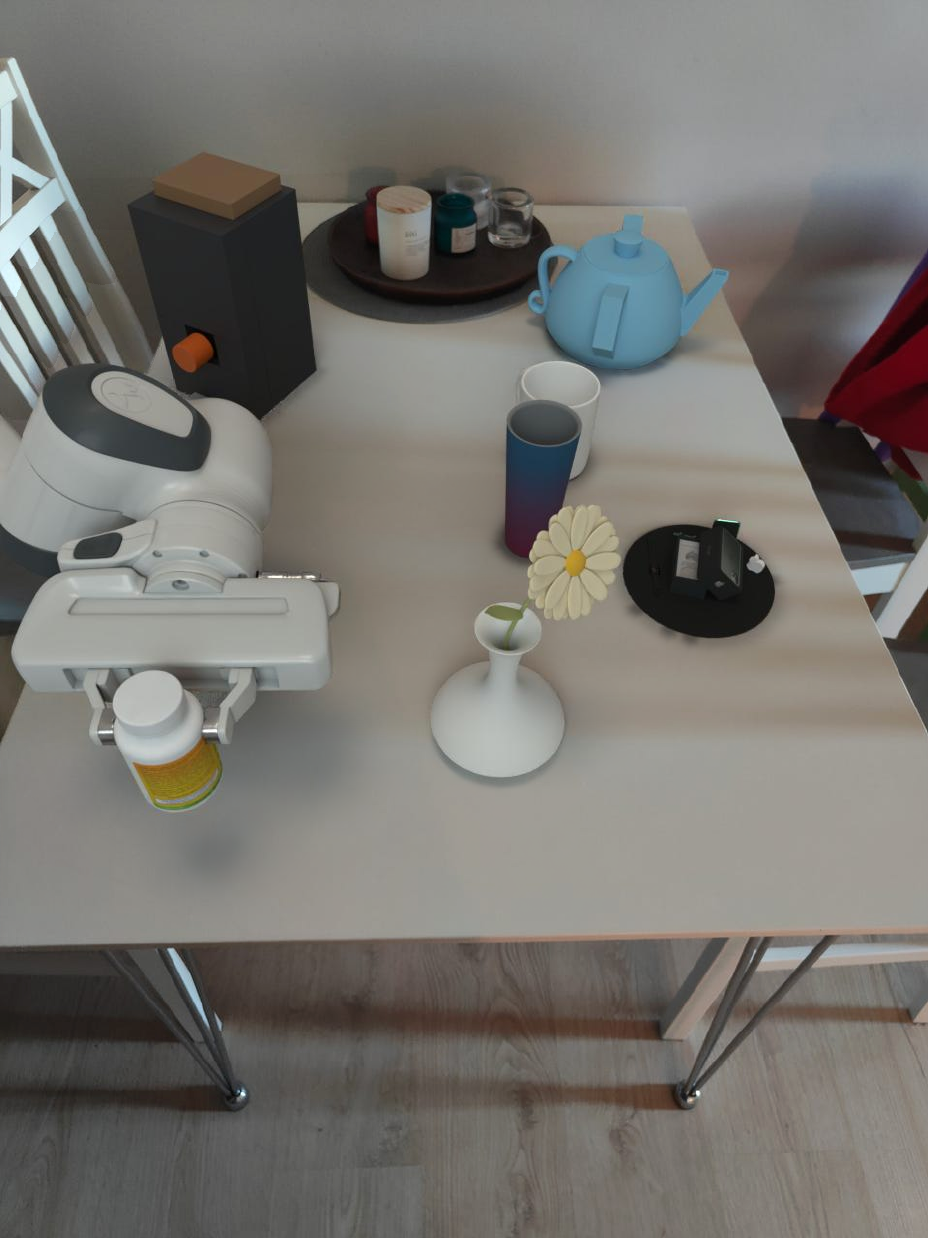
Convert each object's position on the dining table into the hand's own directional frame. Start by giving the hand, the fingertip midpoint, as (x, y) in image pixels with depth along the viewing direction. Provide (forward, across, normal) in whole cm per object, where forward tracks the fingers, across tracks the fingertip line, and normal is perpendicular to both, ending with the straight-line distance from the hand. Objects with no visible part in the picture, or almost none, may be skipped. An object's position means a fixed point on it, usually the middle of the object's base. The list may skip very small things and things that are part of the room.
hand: (159, 740), depth 52 cm
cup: (-34, -27, -17) cm, 47 cm away
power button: (-55, +9, -11) cm, 57 cm away
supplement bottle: (-1, 0, -6) cm, 6 cm away
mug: (-48, -30, -17) cm, 59 cm away
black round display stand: (-28, -44, -17) cm, 55 cm away
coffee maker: (-60, +6, -17) cm, 62 cm away
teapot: (-72, -42, -17) cm, 84 cm away
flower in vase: (-12, -23, -17) cm, 31 cm away
